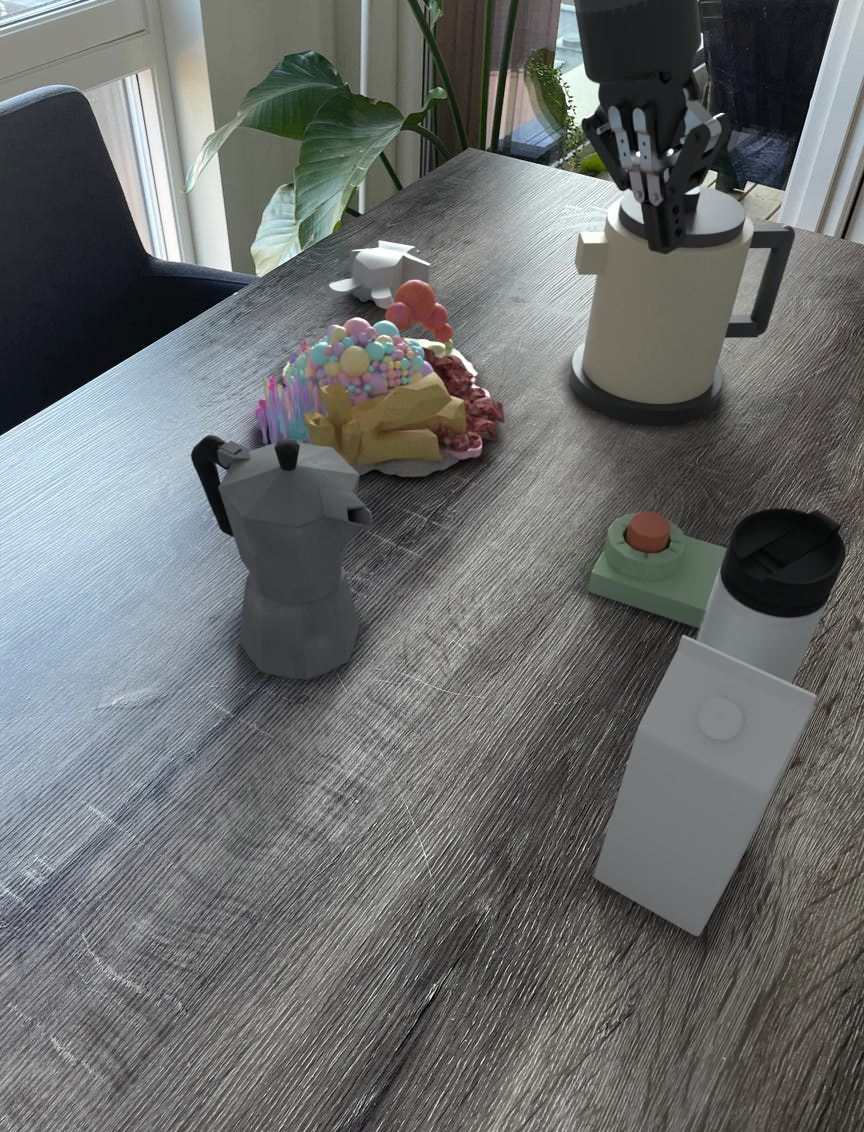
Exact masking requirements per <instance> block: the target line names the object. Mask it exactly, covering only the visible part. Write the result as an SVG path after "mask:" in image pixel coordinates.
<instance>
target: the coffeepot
mask: <svg viewBox="0 0 864 1132" xmlns="http://www.w3.org/2000/svg"><path fill="white" fill-rule="evenodd" d="M190 458H191V463H192V464H193V467H194V469H195V472H196V474H197V476H198V479H199V482H200V483H201V486H202V488H203V491H204V494H205V496H206V499H207V501H208V504H209V506H210V508H211V511H212V513H213V515H214V517H215V520H216V522H217V525H218V528H219V529H220V531H221V532H223V533H224V534H225V535H228V536H230V537H232V538H234V541H235V544H236V548H237V550H238V554H239V557H240V560H241V562H242V563H243V565H244V566H245V567H246V569H247V570H248V574H247V577H246V580H245V583H244V592H243V602H242V612H241V621H240V631H239V639H238V642H239V644H240V646H241V647H242V649H243V650H244V651H245V653H246V655H247V656H248V659H250V660H251V661H252V662H253V664H254V665H255V666H256V668H257V669H258V670H259V672H260V673H263V674H266V675H273V676H276V677H280V678H287V679H294V680H304V681H308V680H312V679H314V678H317V677H320V676H323V675H325V674H328V673H329V672H331V671H333V670H335V669H337V668H339V667H340V666H343V665H344V664H346V663H349V661H350V660H351V659H350V658H351V656H352V653H353V651H354V649H355V645H356V641H357V640H358V635H359V633H360V630H361V628H360V624H359V620H358V615H357V612H356V608H355V607H356V606H355V604H354V600H353V595H352V591H351V587H350V584H349V579H348V576H347V575H348V574H347V572H346V571H345V569H344V568H343V566H342V565H343V563H344V561H345V558H346V555H347V552H348V548H349V543H350V542H351V541H352V540H353V538H354V537H355V535H356V534H358V533H359V531H361V530H369V529H370V528H371V527H372V525H373V513H372V511H371V510H370V509H369V508H368V507H367V505H366V504H365V503H364V502H363V501H362V500H361V499H360V498H359V497H358V496H357V495H358V488H359V483H360V477H361V475H359V474H358V473H357V472H356V471H355V470H354V469H353V468H352V467H351V466H350V465H349V464H348V463H347V462H346V461H345V460H344V459H343V457H342V456H341V455H340V454H339V453H338V452H337V451H336V450H335V449H334V448H332V447H325V446H318V445H311V444H305V443H298V442H296V441H295V440H289V439H284V440H281V441H278V442H276V443H273V444H272V443H270V444H268V445H267V446H266V445H264V446H262V447H258V448H256V449H252V450H250V451H249V449H248V447H246V446H244V445H242V444H239V443H237V442H235V441H233V440H229V442H227V441H226V440H223V439H222V438H221V437H219V436H217V435H214V434H207V435H206V436H205V437H203V438H202V439H201V440H200V441H199V442H198V443H197V444H195V445H194V447H193V448H192V451H191V454H190ZM217 465H218V466H219V467H220V468H222V469H223V470H225V471H226V473H225V475H224V477H222V480H221V479H220V473H219V469H218V467H217Z"/></svg>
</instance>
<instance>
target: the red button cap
mask: <svg viewBox="0 0 864 1132" xmlns="http://www.w3.org/2000/svg"><path fill="white" fill-rule="evenodd" d="M634 514H635V515H634V516H633V517H632V518H631V519H630V523H629V527H628V531H627V535H626V541H627V543H628V545H629V546H630V547H632V548H633V549H634V550H637V551H640V552H644V553H659V552H661V551H662V550H664V548H665V547H666V545H667V541H668V538H669V534H670V530H671V525H670V523H669V521H670V520H669V519H668V518H666V517H665V516H663V515H662V514H660V513H658V512H657V513H656V512H653V511H639V512H638V513H634ZM668 520H669V521H668Z"/></svg>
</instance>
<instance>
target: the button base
mask: <svg viewBox="0 0 864 1132" xmlns="http://www.w3.org/2000/svg"><path fill="white" fill-rule="evenodd" d="M635 514H636V513H627V514H625V515H623V516H621V517H618V518H616V519H614V520H613V521H612V522H611V524H610V525H609V528H608V529H607V531H606V536H605V539H604V544H603V545H604V546H603V550H602V553H600V556H599V557H598V559H597V561H596V563H595V565H594V566H593V569H592V571H591V573H590V576H589V582H588V586H587V592H589V593H592V594H594V595H598V596H600V597H604V598H607V599H610V600H613V601H616V602H619V603H621V604H624V605H628V606H631V607H634V608H636V609H640V610H643V611H645V612H649V613H652V614H654V615H657V616H661V617H664V618H667V619H670V620H673V621H675V622H679V623H682V624H684V625H688V626H691V627H693V628H696V629H700V626H701V622H702V619H703V616H704V613H705V610H706V607H707V604H708V601H709V598H710V595H711V592H712V589H713V586H714V583H715V580H716V577H717V575H718V570H719V567H720V565H721V563H722V561H723V559H724V557H725V552H726V549H727V547H724V546H721V545H718V544H714V543H711V542H708V541H704V540H701V539H698V538H695V537H691V536H688V535H685V534H684V532H683V530H682V528H680V527H679V526H677V525H676V524H675V523H673V522H672V521H671V520H669V519H667V520H668V521H669V523H670V525H671V530H670V534H669V538H668V541H667V545H666V547H665V548H664V550H662V551H661V552H659V553H644V552H640V551H637V550H634V549H633V548H632V547H630V546H629V545H628V543H627V541H626V535H627V531H628V527H629V523H630V519H631V518H632V517H633V516H634V515H635Z"/></svg>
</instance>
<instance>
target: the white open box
mask: <svg viewBox="0 0 864 1132" xmlns="http://www.w3.org/2000/svg"><path fill="white" fill-rule="evenodd" d="M419 257H420V250H419V249H418V248H417V247H416V246H413V245H406V244H400V243H395V242H390V241H385V240H378V246H377V247H374V248H363V249H362V248H361V249H352V250H350V252H349V271H351V276H350V278H345V279H341V280H338V281H333V282H331V283H329V284H328V286H327V288H326V290H325V293H324V297H326V298H329V299H339V298H342V297H344V296H346V295H348V294H350V293H352V295H353V297H354V298H358V300H359V301H361V302H365V303H366V302H368V301H373V302H374V303H375V305H376V307H379V308H380V309H385V310H387V309H388V308H389V307H390V305H392V304H394V303H395V296H396V293H397V291H398V289H399V288H400V286H401V285H403V284H404V283H406V282H408V281H410V280H420V281H422V282H425V283H427V284H428V285H429V282H430V275H431V274H430V273H431V263H429V262H428V261H427V262H426V261H425V260H422V259H420V258H419Z"/></svg>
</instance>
